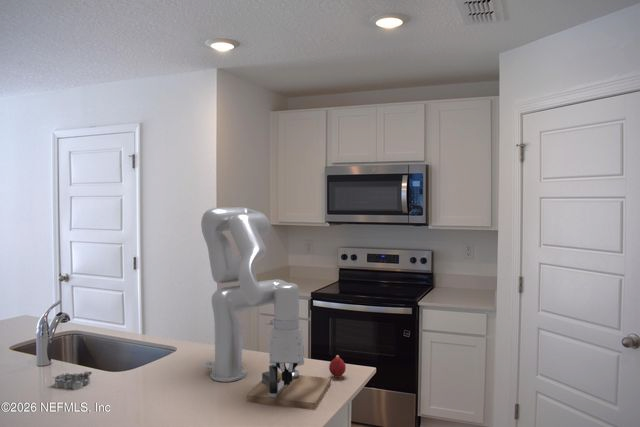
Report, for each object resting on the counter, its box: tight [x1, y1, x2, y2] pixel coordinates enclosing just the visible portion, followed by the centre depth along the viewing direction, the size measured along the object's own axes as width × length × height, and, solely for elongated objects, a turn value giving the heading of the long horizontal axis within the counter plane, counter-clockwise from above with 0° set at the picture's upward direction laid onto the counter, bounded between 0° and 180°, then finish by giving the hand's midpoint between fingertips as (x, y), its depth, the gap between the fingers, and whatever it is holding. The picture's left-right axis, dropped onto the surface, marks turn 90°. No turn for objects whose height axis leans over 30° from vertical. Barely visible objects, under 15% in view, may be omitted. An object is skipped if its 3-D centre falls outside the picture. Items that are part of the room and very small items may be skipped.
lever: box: [268, 364, 300, 397], centre depth 152 cm, size 20×4×9 cm, turn 163°
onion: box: [328, 354, 347, 379], centre depth 164 cm, size 6×6×8 cm
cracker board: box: [246, 371, 332, 410], centre depth 152 cm, size 22×20×6 cm
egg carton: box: [52, 371, 93, 391], centre depth 157 cm, size 11×8×4 cm
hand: (287, 383), depth 143 cm, fingers closed
